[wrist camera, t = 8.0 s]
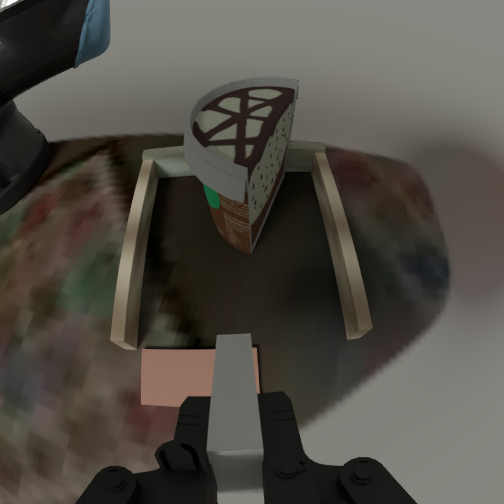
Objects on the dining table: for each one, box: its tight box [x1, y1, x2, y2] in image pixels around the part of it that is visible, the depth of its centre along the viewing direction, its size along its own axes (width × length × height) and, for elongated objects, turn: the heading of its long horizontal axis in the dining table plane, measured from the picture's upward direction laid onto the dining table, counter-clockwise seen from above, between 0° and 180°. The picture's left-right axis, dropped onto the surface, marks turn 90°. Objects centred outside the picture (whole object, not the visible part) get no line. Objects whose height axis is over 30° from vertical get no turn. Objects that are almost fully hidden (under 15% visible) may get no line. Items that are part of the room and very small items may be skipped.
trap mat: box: [141, 348, 260, 407], centre depth 18 cm, size 4×8×1 cm, turn 94°
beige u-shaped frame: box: [110, 142, 373, 350], centre depth 22 cm, size 18×17×3 cm
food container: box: [184, 77, 299, 255], centre depth 21 cm, size 12×6×10 cm, turn 160°
